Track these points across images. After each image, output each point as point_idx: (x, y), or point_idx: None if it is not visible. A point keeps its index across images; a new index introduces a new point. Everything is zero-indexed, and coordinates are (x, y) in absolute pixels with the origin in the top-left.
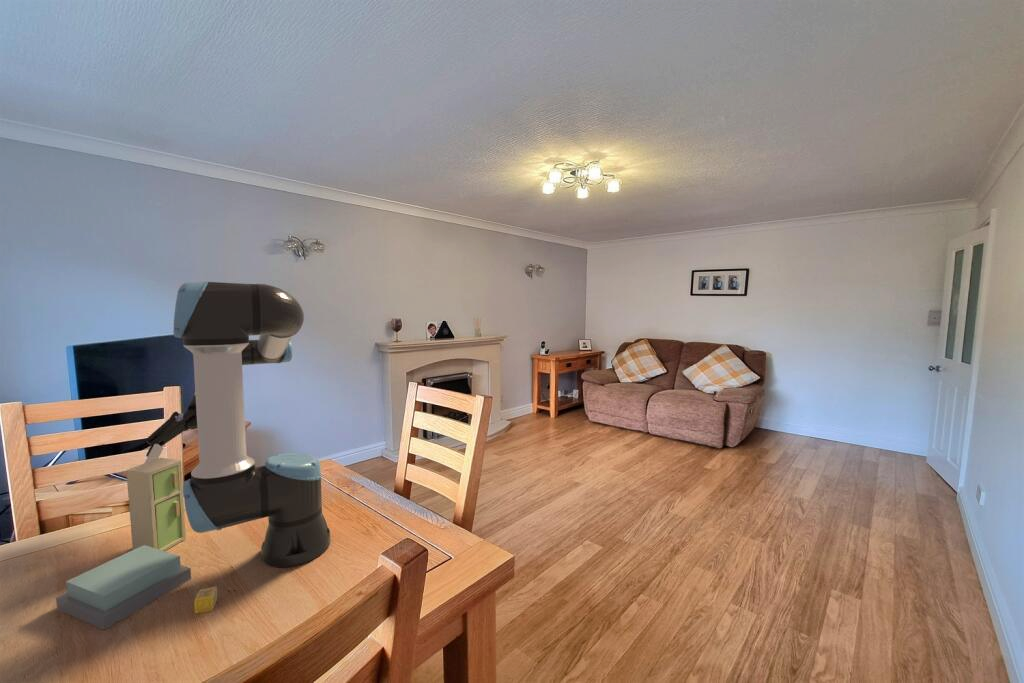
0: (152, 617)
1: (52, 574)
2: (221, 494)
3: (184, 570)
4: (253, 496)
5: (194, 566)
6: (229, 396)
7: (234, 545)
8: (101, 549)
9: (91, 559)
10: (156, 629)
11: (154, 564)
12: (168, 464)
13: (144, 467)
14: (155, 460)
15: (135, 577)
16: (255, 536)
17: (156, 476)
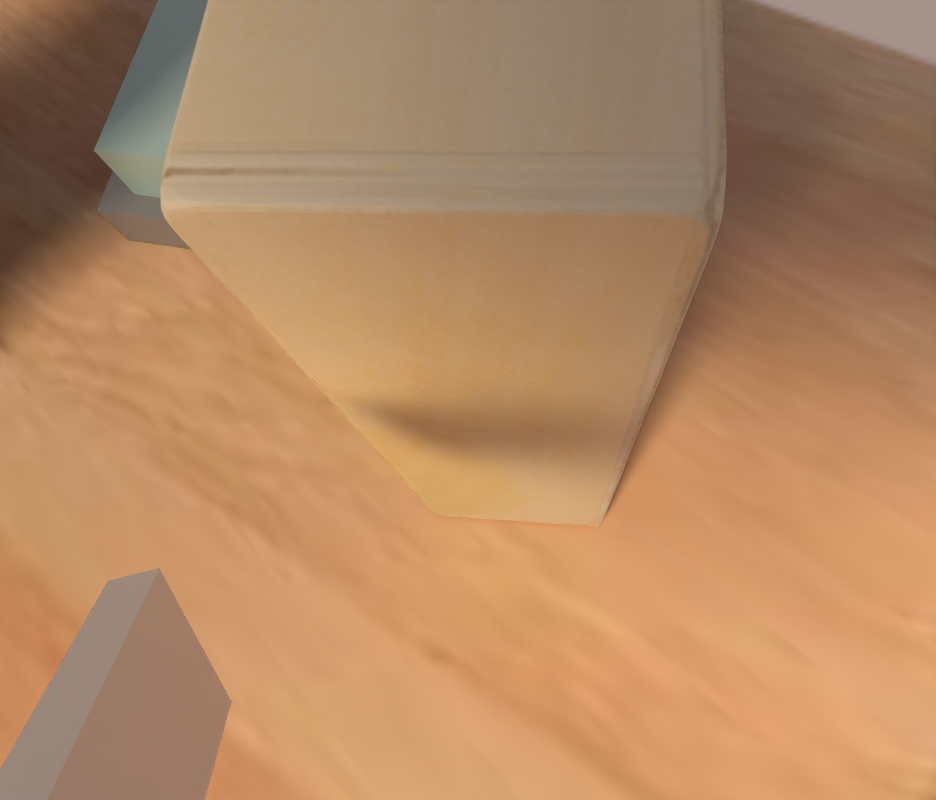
0: (112, 61)
1: (814, 141)
2: None
3: (110, 190)
4: None
5: (180, 312)
6: None
7: (96, 505)
8: (841, 339)
9: (775, 260)
10: (56, 30)
11: (167, 80)
12: (217, 12)
13: None
14: (662, 82)
15: (173, 2)
16: (26, 614)
17: None
